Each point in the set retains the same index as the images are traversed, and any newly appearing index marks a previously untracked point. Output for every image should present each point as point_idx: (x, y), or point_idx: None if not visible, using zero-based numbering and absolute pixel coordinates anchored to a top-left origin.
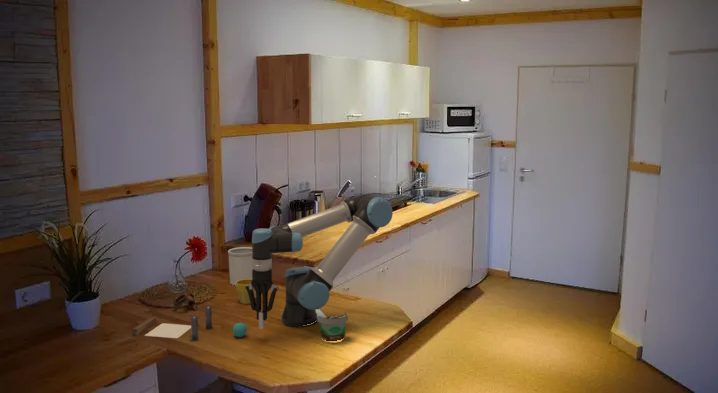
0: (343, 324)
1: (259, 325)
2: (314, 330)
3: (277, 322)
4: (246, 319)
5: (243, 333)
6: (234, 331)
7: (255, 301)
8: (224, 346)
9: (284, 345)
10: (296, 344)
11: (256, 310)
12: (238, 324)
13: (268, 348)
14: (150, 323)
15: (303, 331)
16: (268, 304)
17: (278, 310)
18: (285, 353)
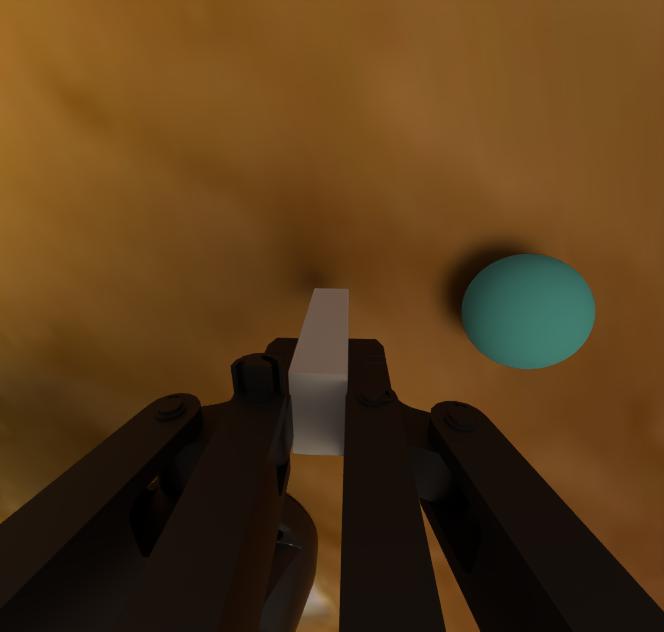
0: None
1: (342, 300)
2: (93, 447)
3: (330, 510)
4: None
5: (478, 274)
6: (564, 263)
7: (474, 610)
8: (593, 60)
9: (130, 194)
10: (64, 231)
11: (391, 397)
12: (563, 313)
13: (214, 104)
14: None
15: None
16: (99, 503)
17: None
18: (32, 19)
